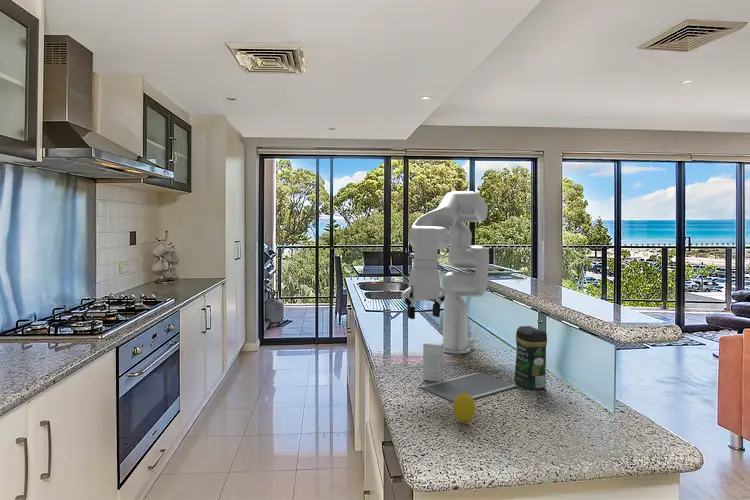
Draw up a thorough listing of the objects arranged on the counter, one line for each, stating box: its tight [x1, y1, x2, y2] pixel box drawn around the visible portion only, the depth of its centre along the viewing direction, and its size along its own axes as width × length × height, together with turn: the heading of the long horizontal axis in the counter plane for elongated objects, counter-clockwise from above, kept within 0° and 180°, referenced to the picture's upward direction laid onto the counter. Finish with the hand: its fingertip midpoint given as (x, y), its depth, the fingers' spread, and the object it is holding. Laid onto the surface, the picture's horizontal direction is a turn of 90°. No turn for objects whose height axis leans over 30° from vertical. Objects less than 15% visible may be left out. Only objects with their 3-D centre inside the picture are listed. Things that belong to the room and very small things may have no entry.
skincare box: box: [422, 340, 445, 383], centre depth 156 cm, size 6×4×12 cm
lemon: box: [452, 392, 476, 424], centre depth 122 cm, size 6×6×8 cm
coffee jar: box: [513, 325, 548, 391], centre depth 152 cm, size 10×8×19 cm
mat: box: [419, 372, 518, 404], centre depth 149 cm, size 26×16×1 cm, turn 126°
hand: (423, 317), depth 156 cm, fingers open, 9 cm apart
